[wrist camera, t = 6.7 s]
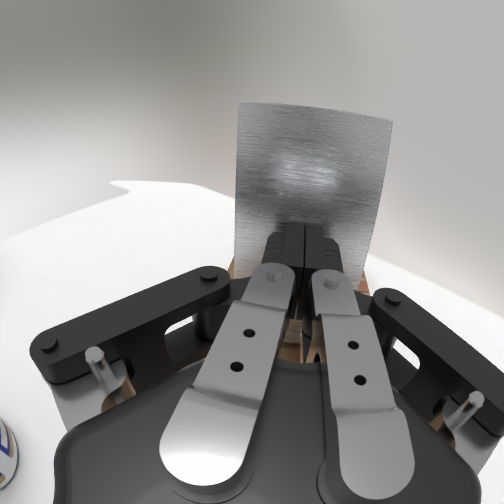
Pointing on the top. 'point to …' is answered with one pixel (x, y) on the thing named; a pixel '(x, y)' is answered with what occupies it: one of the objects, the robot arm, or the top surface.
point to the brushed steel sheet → (307, 181)
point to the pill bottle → (7, 454)
